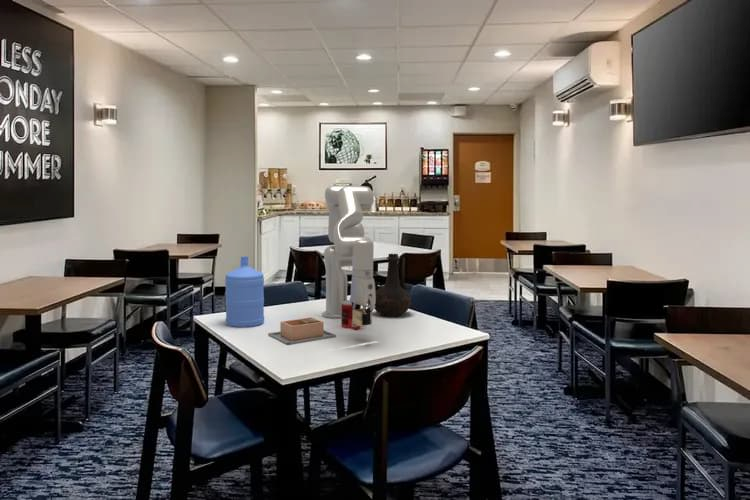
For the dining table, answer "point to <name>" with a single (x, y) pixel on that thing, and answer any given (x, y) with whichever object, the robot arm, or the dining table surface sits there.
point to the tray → (278, 337)
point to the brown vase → (392, 292)
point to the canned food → (348, 316)
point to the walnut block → (307, 321)
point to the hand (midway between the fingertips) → (361, 322)
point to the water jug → (244, 296)
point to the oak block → (359, 317)
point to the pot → (301, 329)
